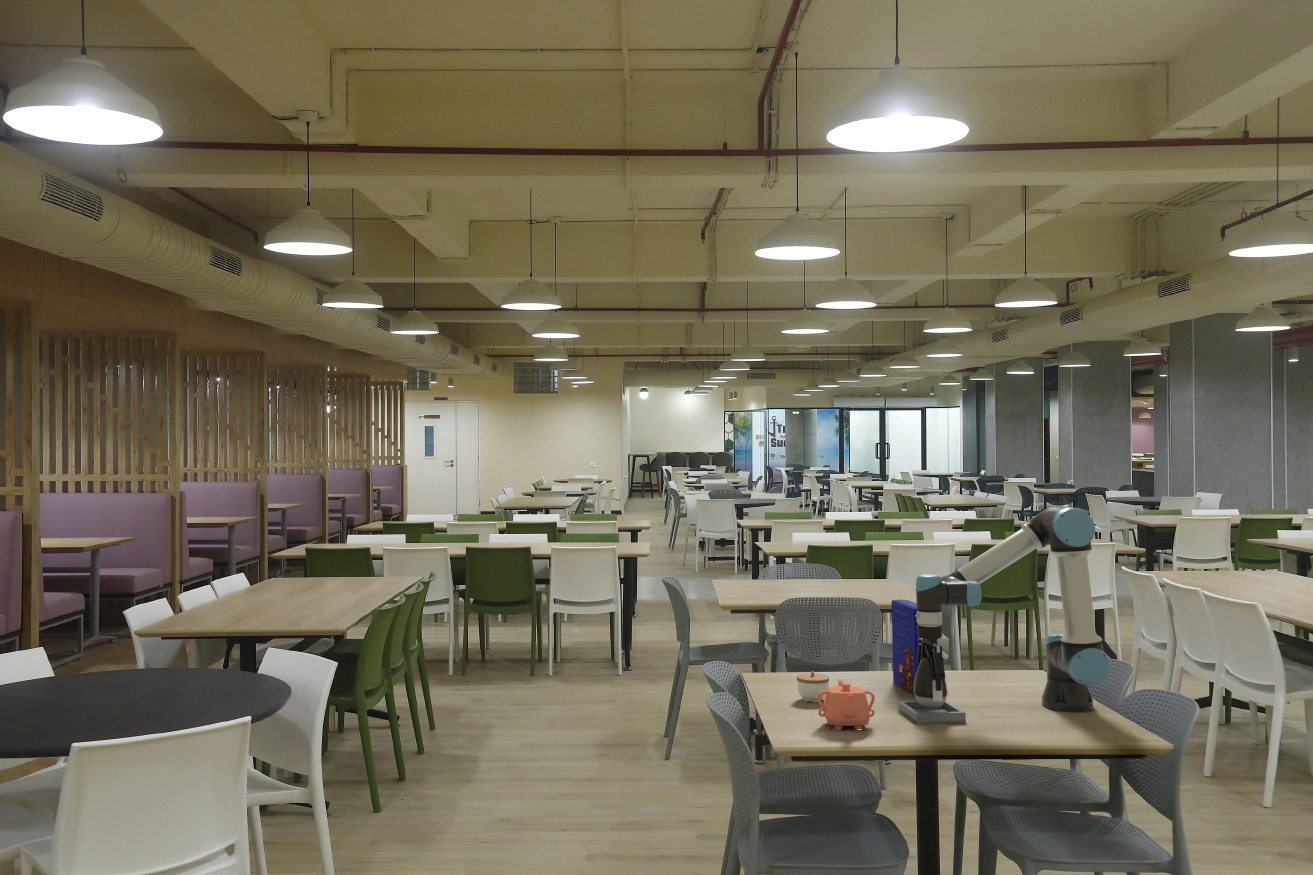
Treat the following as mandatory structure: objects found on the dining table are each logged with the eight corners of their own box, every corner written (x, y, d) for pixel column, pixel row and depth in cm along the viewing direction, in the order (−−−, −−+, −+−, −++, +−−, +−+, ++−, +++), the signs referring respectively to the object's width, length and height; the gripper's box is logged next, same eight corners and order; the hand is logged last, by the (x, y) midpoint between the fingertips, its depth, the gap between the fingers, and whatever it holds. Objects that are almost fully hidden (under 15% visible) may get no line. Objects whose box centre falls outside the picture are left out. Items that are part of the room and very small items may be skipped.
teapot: (852, 736, 259) (851, 692, 260) (808, 724, 272) (807, 682, 273) (884, 727, 269) (883, 684, 269) (840, 715, 281) (839, 675, 282)
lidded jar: (829, 704, 296) (829, 675, 296) (796, 703, 298) (796, 674, 298) (828, 696, 306) (828, 668, 307) (796, 695, 308) (796, 667, 308)
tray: (945, 709, 288) (945, 699, 288) (965, 722, 273) (965, 712, 273) (898, 710, 287) (898, 701, 287) (916, 724, 271) (916, 713, 271)
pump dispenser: (955, 707, 277) (954, 657, 278) (928, 711, 273) (926, 660, 274) (933, 700, 286) (932, 652, 287) (906, 703, 283) (905, 654, 283)
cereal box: (932, 696, 304) (930, 607, 306) (915, 697, 304) (913, 608, 305) (909, 682, 326) (907, 599, 327) (893, 682, 326) (891, 599, 327)
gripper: (904, 619, 292) (906, 688, 291) (931, 631, 269) (933, 706, 268) (927, 618, 292) (928, 687, 291) (955, 630, 270) (957, 705, 269)
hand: (930, 696), depth 280 cm, fingers closed on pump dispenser, 10 cm apart
